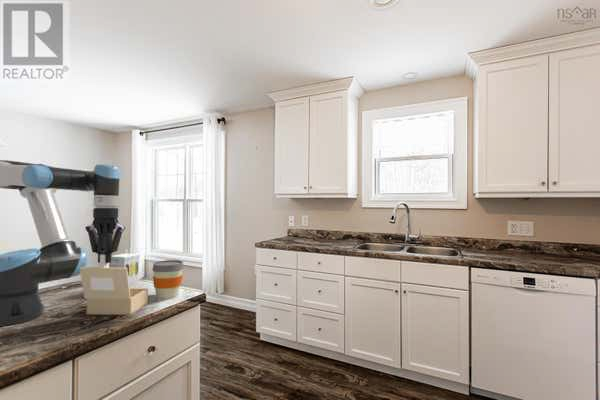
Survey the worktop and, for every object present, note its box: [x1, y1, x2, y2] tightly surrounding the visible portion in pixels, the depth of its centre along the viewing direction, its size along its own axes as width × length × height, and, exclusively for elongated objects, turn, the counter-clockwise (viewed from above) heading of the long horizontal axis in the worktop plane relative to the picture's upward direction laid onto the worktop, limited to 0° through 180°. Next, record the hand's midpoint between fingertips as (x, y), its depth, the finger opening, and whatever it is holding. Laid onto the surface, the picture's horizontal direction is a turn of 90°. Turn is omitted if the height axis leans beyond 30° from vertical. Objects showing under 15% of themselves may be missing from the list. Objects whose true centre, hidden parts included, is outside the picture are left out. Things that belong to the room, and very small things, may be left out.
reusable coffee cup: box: [152, 259, 184, 301], centre depth 123 cm, size 13×13×15 cm
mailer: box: [86, 288, 149, 316], centre depth 107 cm, size 16×12×6 cm
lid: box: [79, 266, 131, 300], centre depth 99 cm, size 16×12×1 cm
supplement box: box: [109, 252, 140, 289], centre depth 129 cm, size 10×9×17 cm
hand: (104, 271), depth 100 cm, fingers closed
